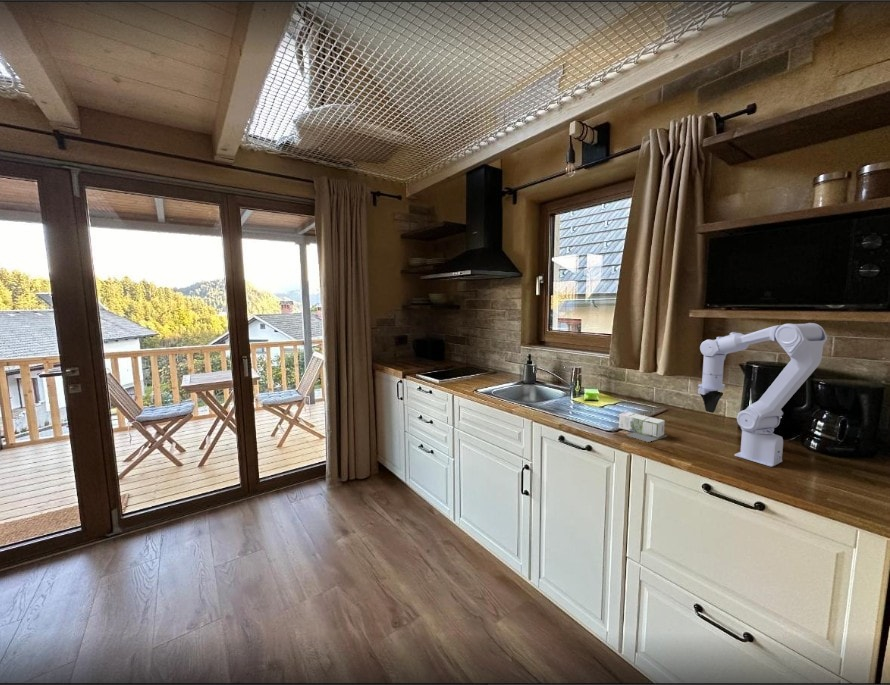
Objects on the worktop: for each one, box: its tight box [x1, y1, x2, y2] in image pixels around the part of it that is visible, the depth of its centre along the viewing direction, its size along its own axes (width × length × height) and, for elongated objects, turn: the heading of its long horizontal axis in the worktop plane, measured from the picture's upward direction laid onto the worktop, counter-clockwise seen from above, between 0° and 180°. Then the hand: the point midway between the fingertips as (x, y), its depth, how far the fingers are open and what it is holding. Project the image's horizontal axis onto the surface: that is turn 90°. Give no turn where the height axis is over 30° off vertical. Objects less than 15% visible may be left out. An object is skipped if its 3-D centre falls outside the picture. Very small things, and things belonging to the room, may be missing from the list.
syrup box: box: [618, 411, 666, 438], centre depth 137 cm, size 6×6×14 cm
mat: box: [625, 432, 668, 443], centre depth 133 cm, size 8×12×1 cm
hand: (710, 411), depth 127 cm, fingers closed
